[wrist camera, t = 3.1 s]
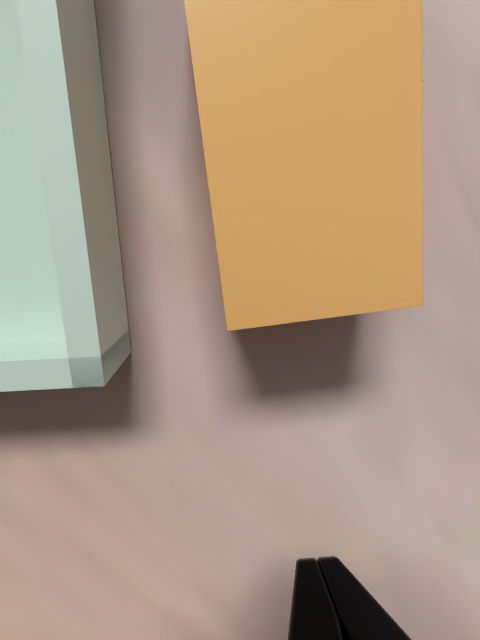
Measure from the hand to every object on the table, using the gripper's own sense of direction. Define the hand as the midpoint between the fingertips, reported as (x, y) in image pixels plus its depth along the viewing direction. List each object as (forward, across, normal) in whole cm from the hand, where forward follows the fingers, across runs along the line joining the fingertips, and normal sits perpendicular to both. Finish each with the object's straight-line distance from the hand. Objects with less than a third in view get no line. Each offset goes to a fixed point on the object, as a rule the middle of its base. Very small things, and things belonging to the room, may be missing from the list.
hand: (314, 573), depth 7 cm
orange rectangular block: (+4, 0, -9) cm, 10 cm away
